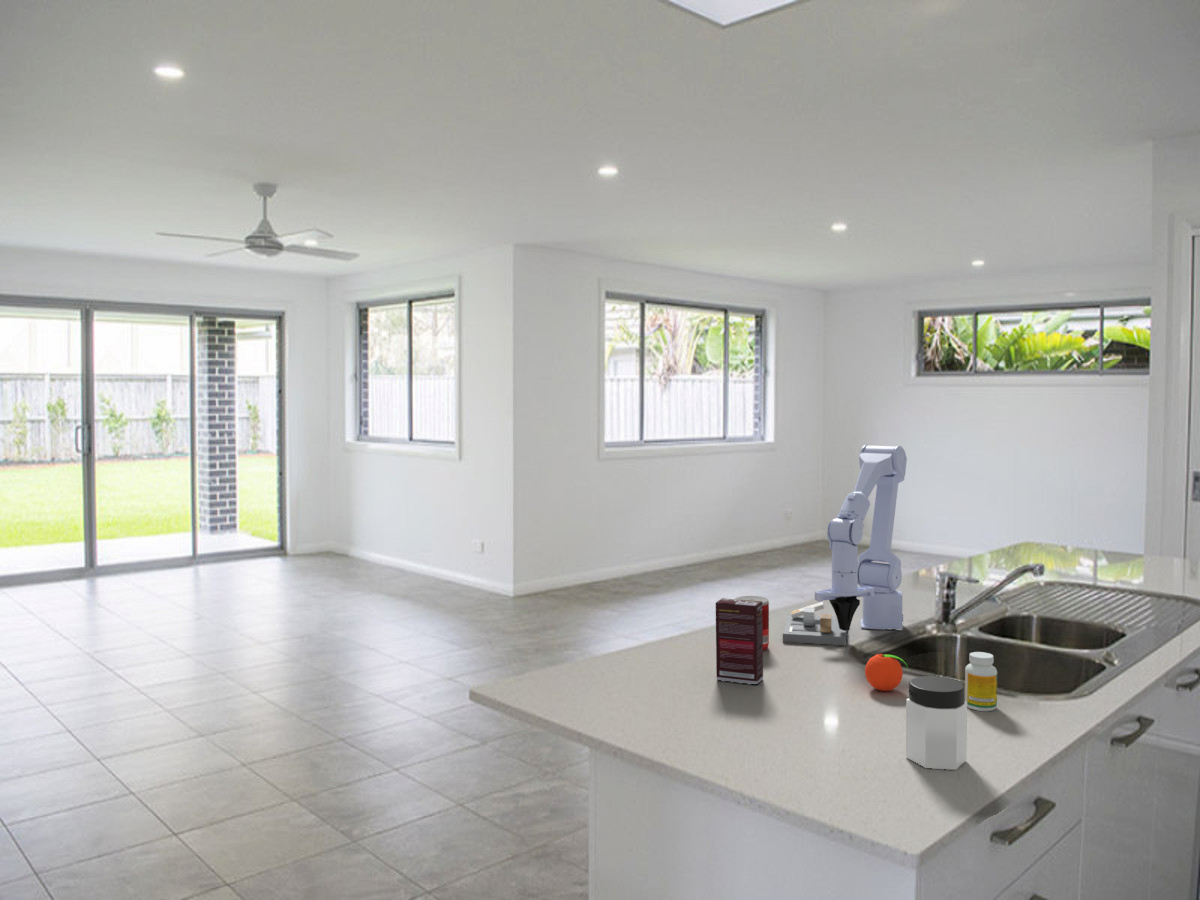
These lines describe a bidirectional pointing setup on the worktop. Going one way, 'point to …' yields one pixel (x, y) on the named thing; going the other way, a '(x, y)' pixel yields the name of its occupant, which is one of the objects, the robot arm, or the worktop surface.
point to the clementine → (884, 672)
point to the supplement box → (739, 641)
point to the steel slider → (809, 616)
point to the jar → (936, 722)
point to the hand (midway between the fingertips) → (844, 629)
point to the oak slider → (825, 623)
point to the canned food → (764, 613)
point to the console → (812, 632)
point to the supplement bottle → (981, 682)
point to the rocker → (800, 611)
